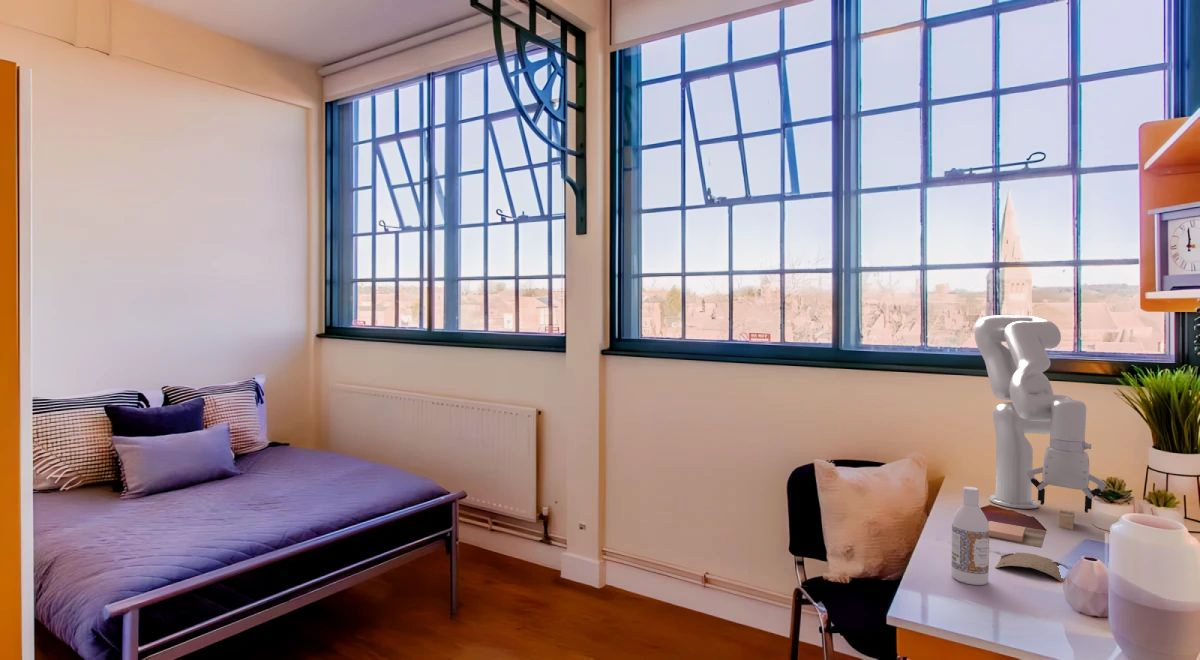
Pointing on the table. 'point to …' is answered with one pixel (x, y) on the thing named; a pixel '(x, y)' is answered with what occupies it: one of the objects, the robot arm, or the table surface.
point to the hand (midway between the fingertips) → (1063, 507)
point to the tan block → (1066, 519)
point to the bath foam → (970, 541)
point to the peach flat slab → (1006, 531)
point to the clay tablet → (1031, 563)
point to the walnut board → (1029, 537)
